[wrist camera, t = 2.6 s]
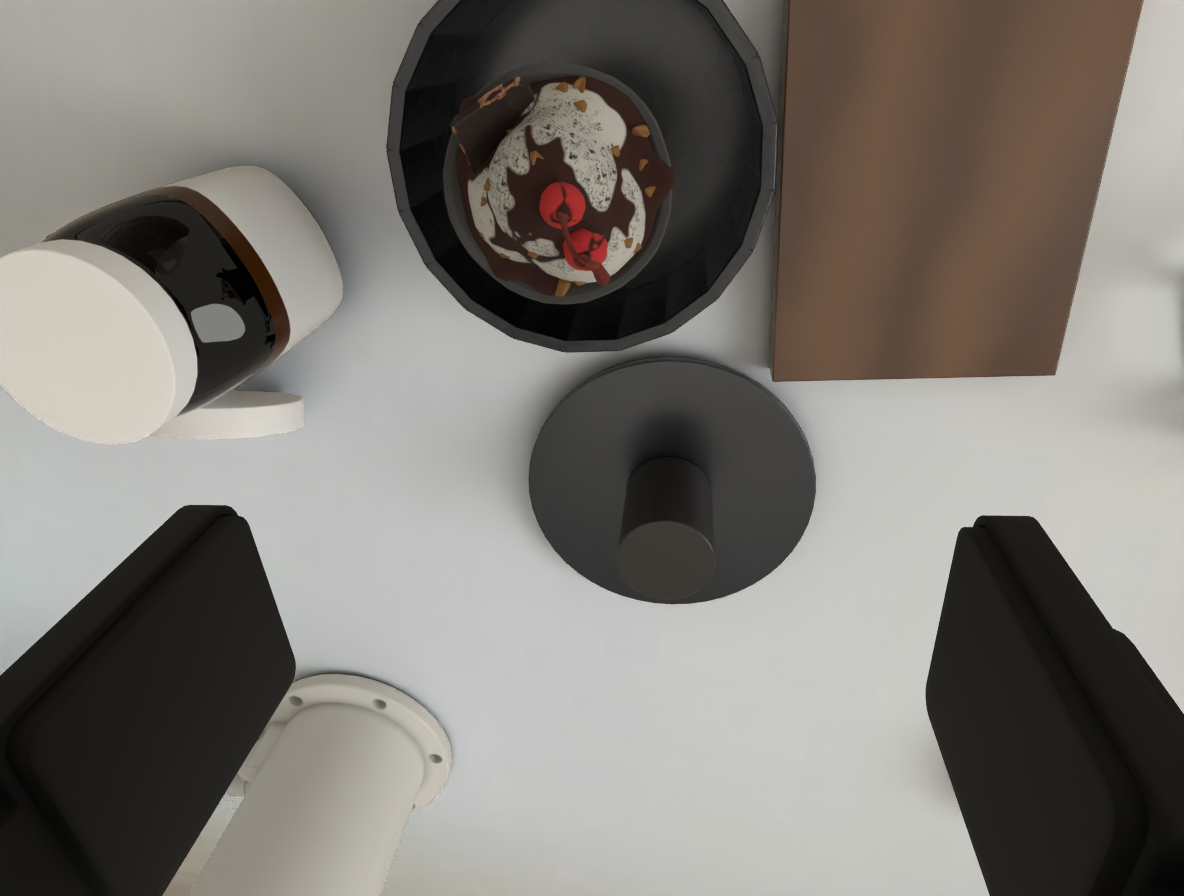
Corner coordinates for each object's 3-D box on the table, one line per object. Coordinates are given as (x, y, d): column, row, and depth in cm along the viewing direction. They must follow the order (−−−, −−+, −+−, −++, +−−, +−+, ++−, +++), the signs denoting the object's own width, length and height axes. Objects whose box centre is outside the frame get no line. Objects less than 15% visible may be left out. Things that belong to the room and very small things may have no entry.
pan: (467, 306, 34) (425, 357, 29) (414, -27, 28) (348, -42, 23) (755, 295, 33) (769, 347, 27) (766, -62, 27) (786, -88, 21)
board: (769, 369, 34) (772, 382, 33) (791, -192, 25) (797, -204, 23) (1041, 362, 33) (1055, 375, 31) (1176, -239, 23) (1204, -256, 22)
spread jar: (290, 129, 32) (100, 173, 21) (428, 360, 36) (324, 487, 26) (91, 246, 35) (-152, 330, 25) (239, 442, 40) (84, 582, 29)
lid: (547, 589, 42) (524, 677, 36) (516, 355, 35) (482, 417, 30) (804, 593, 40) (823, 686, 34) (822, 347, 33) (850, 411, 28)
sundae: (680, 227, 31) (672, 364, 18) (522, 231, 32) (409, 365, 19) (681, 49, 28) (673, 60, 15) (506, 59, 29) (357, 77, 16)
